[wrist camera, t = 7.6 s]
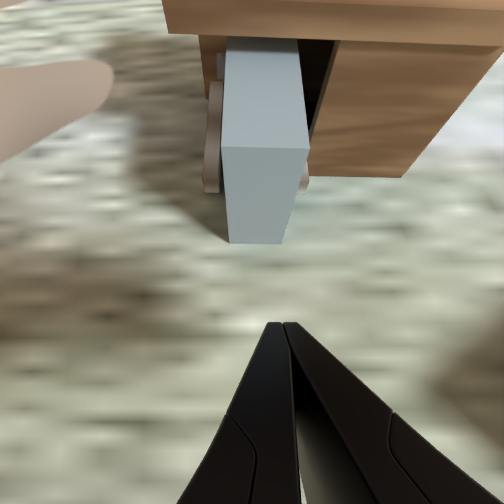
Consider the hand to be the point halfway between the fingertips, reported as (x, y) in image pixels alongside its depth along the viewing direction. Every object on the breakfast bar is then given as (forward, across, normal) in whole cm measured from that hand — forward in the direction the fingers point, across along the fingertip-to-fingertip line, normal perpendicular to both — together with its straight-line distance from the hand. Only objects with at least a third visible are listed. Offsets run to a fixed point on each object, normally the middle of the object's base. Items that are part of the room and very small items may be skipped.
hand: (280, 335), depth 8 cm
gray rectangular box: (+20, 0, -3) cm, 20 cm away
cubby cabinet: (+22, -4, -6) cm, 23 cm away
